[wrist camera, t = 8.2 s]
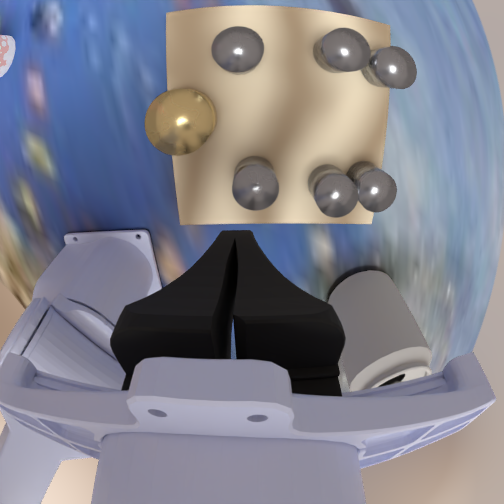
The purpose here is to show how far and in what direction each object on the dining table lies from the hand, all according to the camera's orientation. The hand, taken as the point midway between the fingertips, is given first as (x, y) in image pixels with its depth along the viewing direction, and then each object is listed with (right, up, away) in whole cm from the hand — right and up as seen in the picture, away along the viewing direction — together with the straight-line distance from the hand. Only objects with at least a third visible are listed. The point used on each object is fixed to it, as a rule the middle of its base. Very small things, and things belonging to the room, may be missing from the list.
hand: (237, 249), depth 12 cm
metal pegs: (+5, +9, +5) cm, 12 cm away
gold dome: (-4, +9, +5) cm, 11 cm away
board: (+3, +10, +6) cm, 11 cm away
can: (+12, -4, +15) cm, 20 cm away
